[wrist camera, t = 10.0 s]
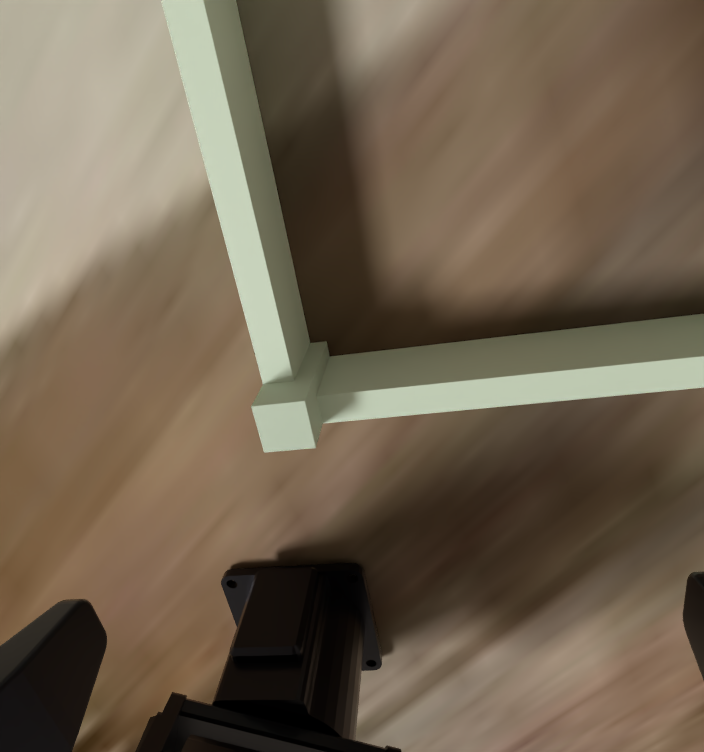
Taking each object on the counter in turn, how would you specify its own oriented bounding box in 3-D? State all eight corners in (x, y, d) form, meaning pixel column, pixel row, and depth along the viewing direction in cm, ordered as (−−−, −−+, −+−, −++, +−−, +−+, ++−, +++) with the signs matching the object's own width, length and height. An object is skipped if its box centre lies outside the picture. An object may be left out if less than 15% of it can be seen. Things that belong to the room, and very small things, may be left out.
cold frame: (765, 334, 18) (865, 400, 14) (293, 385, 20) (264, 452, 16) (916, -558, 10) (1233, -974, 6) (129, -296, 13) (3, -473, 9)
